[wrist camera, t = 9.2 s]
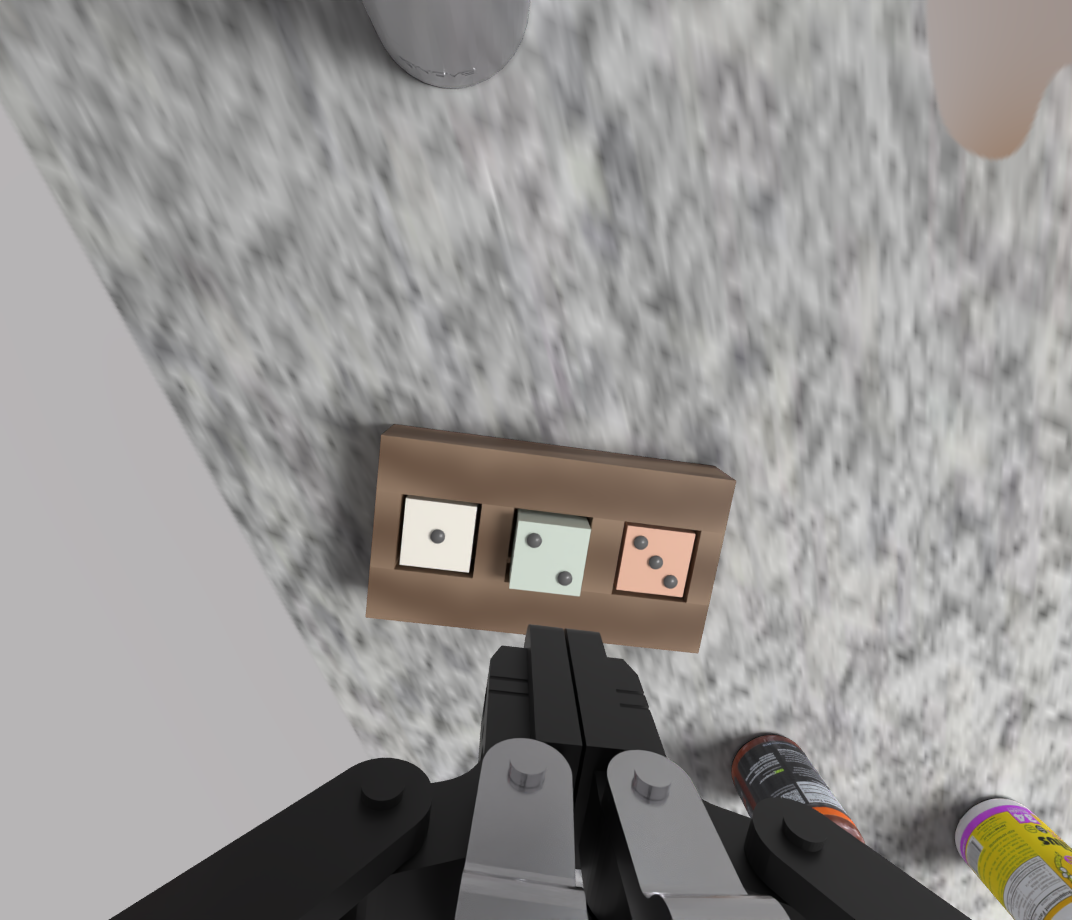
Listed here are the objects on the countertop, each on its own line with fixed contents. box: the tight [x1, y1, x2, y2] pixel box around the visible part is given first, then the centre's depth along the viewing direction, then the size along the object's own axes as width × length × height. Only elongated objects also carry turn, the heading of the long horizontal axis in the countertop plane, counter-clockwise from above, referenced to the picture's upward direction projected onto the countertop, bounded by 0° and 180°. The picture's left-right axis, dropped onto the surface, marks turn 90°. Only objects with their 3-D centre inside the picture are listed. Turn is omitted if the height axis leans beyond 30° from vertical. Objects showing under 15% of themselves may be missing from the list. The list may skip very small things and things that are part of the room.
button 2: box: [509, 508, 591, 596], centre depth 37 cm, size 4×4×3 cm
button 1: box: [400, 495, 478, 573], centre depth 39 cm, size 4×4×3 cm
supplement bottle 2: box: [955, 799, 1072, 920], centre depth 42 cm, size 7×7×13 cm
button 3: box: [614, 521, 695, 597], centre depth 40 cm, size 4×4×3 cm
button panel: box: [366, 424, 736, 653], centre depth 39 cm, size 12×22×4 cm, turn 82°
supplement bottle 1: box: [731, 735, 865, 844], centre depth 41 cm, size 6×6×11 cm
